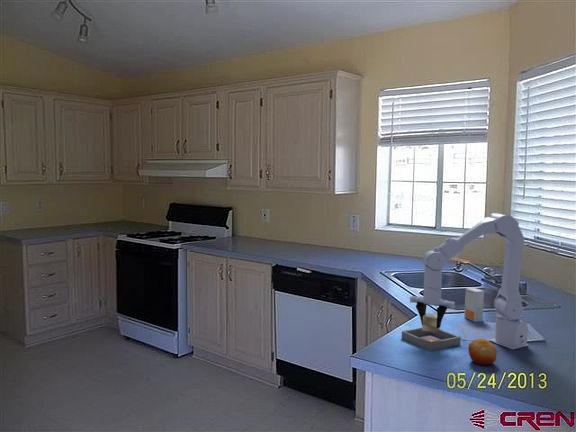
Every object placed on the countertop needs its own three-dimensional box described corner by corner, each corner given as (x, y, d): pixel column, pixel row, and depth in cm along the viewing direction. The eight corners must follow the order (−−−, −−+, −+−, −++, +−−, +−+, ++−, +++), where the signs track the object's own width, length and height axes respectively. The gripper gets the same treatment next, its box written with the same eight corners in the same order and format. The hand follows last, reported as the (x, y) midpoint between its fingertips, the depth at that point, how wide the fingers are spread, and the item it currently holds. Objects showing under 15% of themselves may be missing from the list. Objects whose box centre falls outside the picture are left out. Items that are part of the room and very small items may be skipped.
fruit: (486, 351, 152) (493, 334, 148) (495, 372, 146) (503, 355, 141) (461, 351, 152) (467, 334, 147) (469, 372, 146) (475, 355, 141)
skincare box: (463, 317, 193) (465, 288, 192) (472, 316, 194) (473, 287, 193) (474, 322, 187) (476, 291, 186) (483, 321, 188) (484, 290, 187)
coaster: (445, 342, 163) (445, 341, 163) (430, 346, 160) (430, 345, 160) (430, 336, 169) (430, 335, 169) (415, 339, 166) (415, 338, 166)
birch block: (439, 329, 165) (439, 315, 165) (435, 333, 161) (436, 318, 161) (426, 327, 167) (426, 313, 167) (422, 330, 164) (422, 316, 163)
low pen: (460, 344, 162) (460, 337, 162) (430, 351, 156) (430, 343, 155) (430, 332, 174) (430, 325, 174) (401, 338, 167) (401, 331, 167)
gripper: (457, 287, 163) (455, 326, 164) (414, 281, 170) (413, 319, 171) (452, 291, 157) (450, 332, 158) (408, 285, 164) (407, 324, 165)
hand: (430, 326), depth 164 cm, fingers closed on birch block, 4 cm apart
